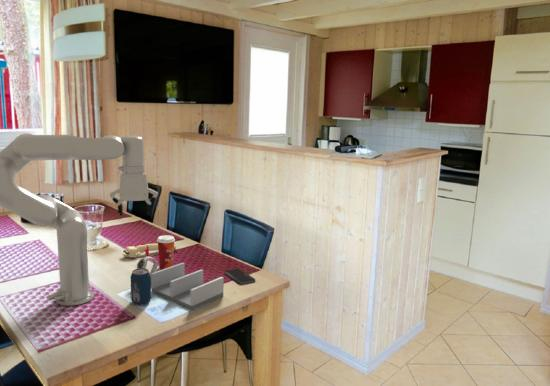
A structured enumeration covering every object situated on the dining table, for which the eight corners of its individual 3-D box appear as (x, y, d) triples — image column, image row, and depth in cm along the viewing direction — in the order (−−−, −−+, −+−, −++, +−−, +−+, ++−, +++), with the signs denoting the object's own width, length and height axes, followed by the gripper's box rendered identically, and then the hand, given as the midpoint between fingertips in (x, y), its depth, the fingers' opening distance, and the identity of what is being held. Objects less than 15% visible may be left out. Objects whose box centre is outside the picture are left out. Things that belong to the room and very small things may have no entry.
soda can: (150, 297, 165) (149, 267, 162) (151, 305, 158) (150, 274, 156) (131, 299, 162) (130, 268, 160) (131, 307, 156) (130, 275, 154)
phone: (240, 283, 179) (223, 271, 191) (240, 286, 179) (223, 273, 191) (256, 279, 183) (239, 267, 195) (256, 282, 183) (239, 270, 195)
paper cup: (170, 271, 190) (170, 240, 187) (154, 269, 191) (153, 239, 188) (178, 265, 197) (177, 235, 194) (162, 263, 198) (161, 234, 196)
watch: (135, 283, 176) (134, 257, 174) (153, 278, 181) (153, 253, 179) (141, 288, 172) (141, 261, 170) (160, 283, 178) (159, 257, 175)
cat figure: (169, 249, 222) (119, 254, 207) (170, 232, 221) (120, 236, 205) (177, 255, 214) (126, 260, 199) (178, 238, 213) (127, 242, 198)
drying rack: (192, 310, 156) (192, 290, 154) (151, 291, 169) (151, 273, 168) (223, 295, 168) (223, 277, 167) (183, 279, 182) (182, 262, 180)
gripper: (107, 171, 156) (109, 217, 160) (157, 171, 160) (158, 216, 164) (109, 168, 163) (111, 212, 167) (157, 168, 167) (158, 211, 171)
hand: (134, 214), depth 165 cm, fingers open, 9 cm apart
